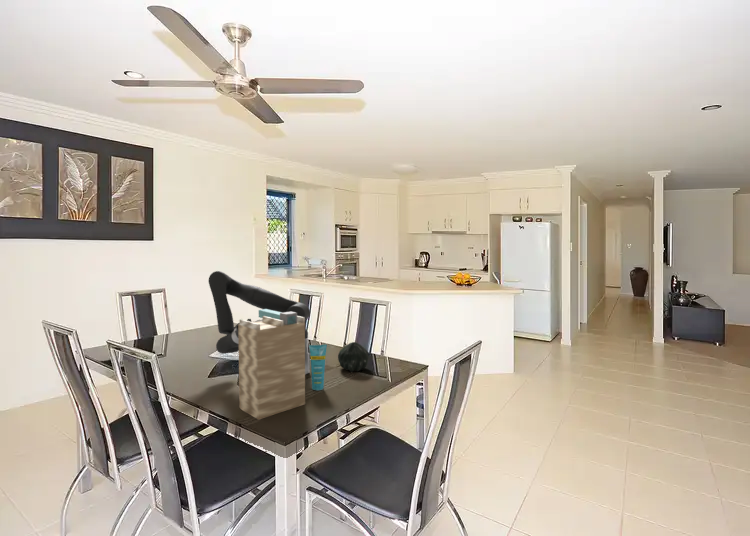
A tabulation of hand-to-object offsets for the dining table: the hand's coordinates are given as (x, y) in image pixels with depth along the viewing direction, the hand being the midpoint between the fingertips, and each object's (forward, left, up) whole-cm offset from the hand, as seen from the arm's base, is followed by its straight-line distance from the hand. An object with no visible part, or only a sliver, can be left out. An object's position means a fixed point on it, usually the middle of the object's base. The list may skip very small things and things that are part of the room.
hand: (259, 319), depth 171 cm
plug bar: (-2, +13, +1) cm, 13 cm away
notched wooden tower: (+2, +18, -31) cm, 35 cm away
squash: (-48, -3, -31) cm, 57 cm away
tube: (-21, +11, -31) cm, 39 cm away
